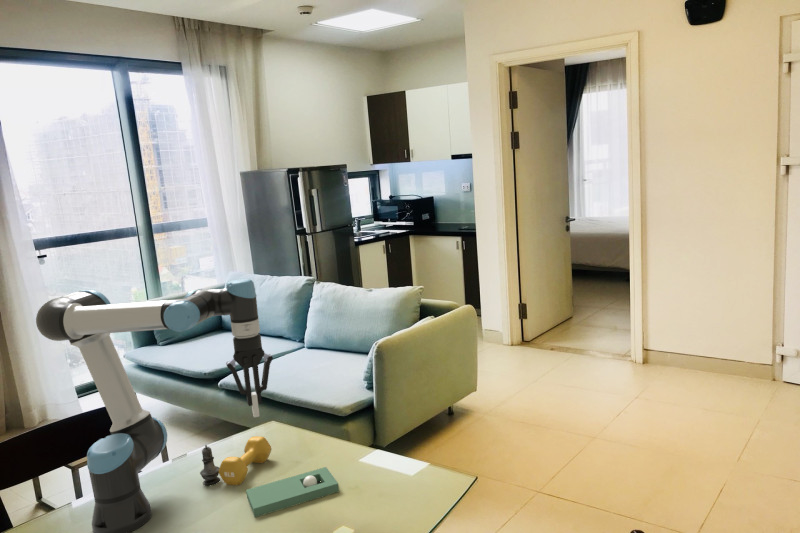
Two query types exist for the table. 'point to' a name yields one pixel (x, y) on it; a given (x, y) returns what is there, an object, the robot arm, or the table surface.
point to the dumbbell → (244, 460)
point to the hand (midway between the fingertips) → (256, 415)
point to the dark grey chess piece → (209, 468)
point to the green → (290, 492)
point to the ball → (309, 481)
